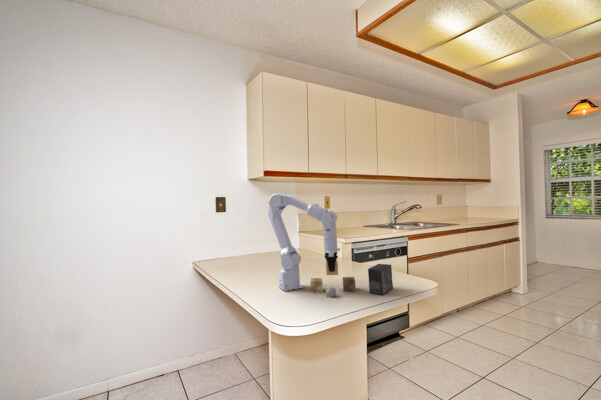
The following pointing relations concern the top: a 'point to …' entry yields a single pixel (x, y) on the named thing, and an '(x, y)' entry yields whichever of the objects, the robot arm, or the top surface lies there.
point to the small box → (380, 279)
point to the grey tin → (330, 292)
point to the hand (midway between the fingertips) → (331, 269)
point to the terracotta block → (332, 272)
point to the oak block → (316, 285)
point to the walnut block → (349, 284)
